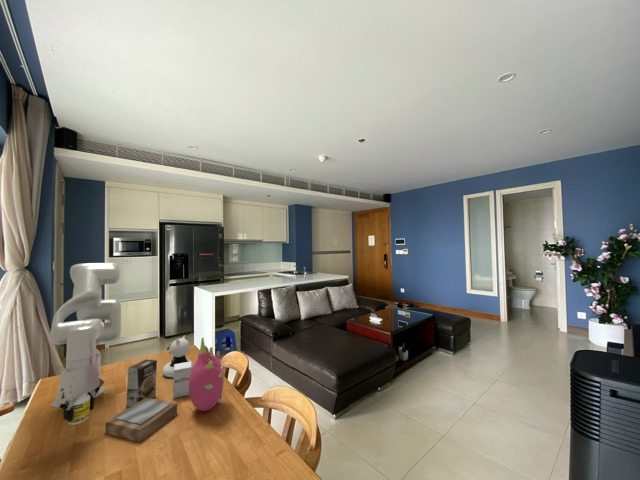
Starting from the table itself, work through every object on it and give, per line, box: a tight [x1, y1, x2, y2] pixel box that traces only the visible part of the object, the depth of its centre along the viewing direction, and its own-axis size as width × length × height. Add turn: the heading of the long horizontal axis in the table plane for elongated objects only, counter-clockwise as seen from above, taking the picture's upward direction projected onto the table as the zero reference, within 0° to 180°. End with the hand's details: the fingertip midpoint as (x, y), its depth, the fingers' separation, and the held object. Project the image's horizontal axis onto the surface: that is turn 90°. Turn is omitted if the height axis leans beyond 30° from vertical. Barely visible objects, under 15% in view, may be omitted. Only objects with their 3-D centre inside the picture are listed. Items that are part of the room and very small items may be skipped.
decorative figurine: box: [161, 335, 194, 378], centre depth 139 cm, size 15×15×20 cm
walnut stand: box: [104, 397, 178, 443], centre depth 98 cm, size 16×16×4 cm
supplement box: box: [172, 360, 193, 399], centre depth 119 cm, size 7×7×13 cm
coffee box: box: [125, 359, 158, 408], centre depth 113 cm, size 9×6×16 cm
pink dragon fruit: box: [189, 337, 225, 412], centre depth 108 cm, size 18×14×30 cm
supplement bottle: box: [67, 393, 91, 425], centre depth 89 cm, size 5×5×10 cm
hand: (79, 413), depth 89 cm, fingers closed on supplement bottle, 5 cm apart
